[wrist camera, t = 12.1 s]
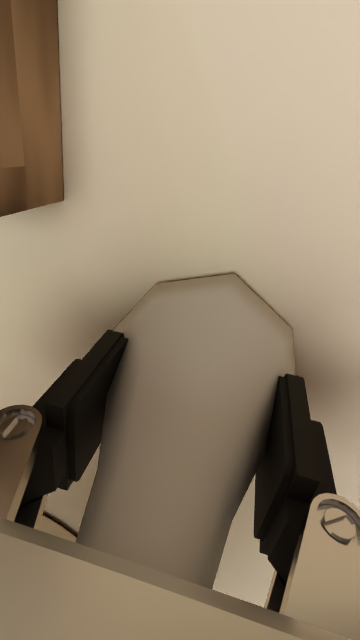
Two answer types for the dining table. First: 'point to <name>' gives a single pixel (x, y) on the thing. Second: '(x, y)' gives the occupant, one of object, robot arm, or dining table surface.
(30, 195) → the wooden tray
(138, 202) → the dining table surface
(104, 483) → the flask
